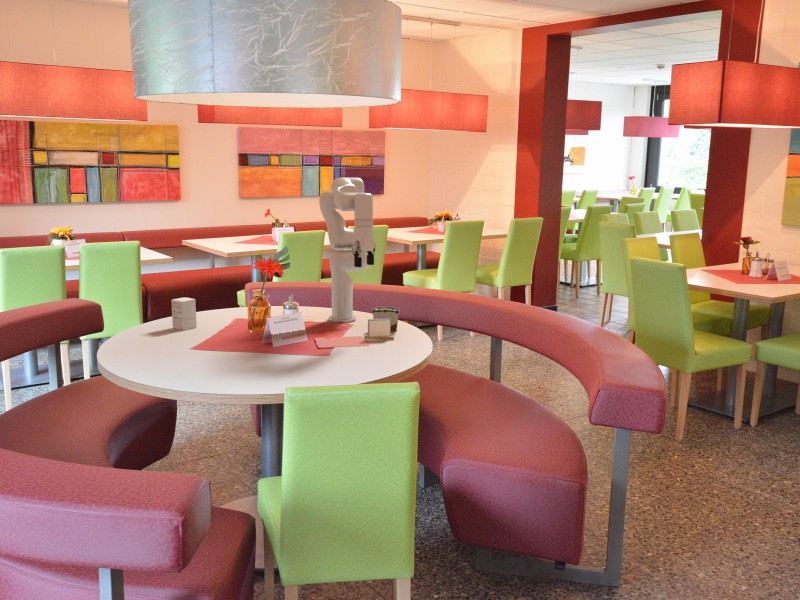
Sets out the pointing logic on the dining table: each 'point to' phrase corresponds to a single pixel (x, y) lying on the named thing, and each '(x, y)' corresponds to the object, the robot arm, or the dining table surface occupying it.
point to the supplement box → (184, 313)
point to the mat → (341, 342)
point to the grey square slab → (379, 327)
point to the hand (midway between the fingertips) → (364, 265)
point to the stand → (379, 338)
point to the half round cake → (387, 315)
